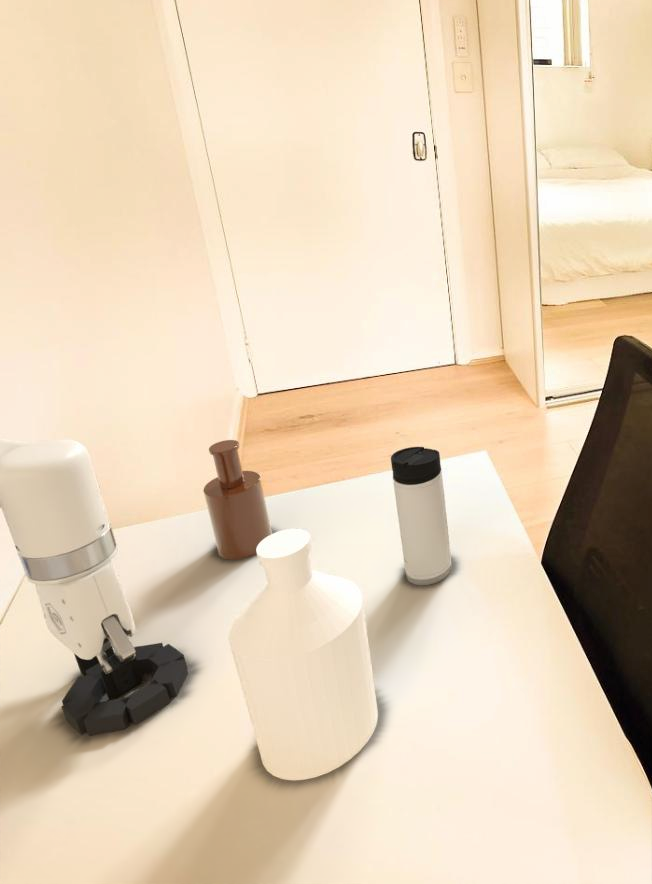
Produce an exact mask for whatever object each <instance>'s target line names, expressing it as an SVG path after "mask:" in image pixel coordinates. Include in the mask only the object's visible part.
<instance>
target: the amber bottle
mask: <svg viewBox="0 0 652 884" xmlns="http://www.w3.org/2000/svg"><path fill="white" fill-rule="evenodd" d="M239 449H240V442H239V441H238V440H235V439H226V440H221V441H218V442H215V443H213V444H211V445H210V446H209V447H208V452H209V454H210V455H211V456H212V458H213V462H214V466H215V471H216V475H217V477H214V478H213V479H211V480H210V481H209V482H208V483H206V484H205V485H204V486H203V496H204V499H205V504H206V508H207V512H208V516H209V520H210V524H211V529H212V533H213V537H214V540H215V544H216V545H215V546H216V548H217V553H218V556H219V557H221V558H222V559H225V560H232V561H233V560H243V559H247V558H250V557H253V556H255V555H257V552H256V548H257V546H258V544H259V543H260V542H261V541H262V540H263V539H265V538H266V537H268V536H269V535H271V534H273V531H272V526H271V521H270V515H269V511H268V506H267V502H266V498H265V493H264V487H263V484H262V478H261V475H260V474H259V473H258V472H256V471H253V470H243V468H242V467H243V466H242V463H241V458H240V453H239Z"/></svg>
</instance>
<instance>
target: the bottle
mask: <svg viewBox="0 0 652 884" xmlns="http://www.w3.org/2000/svg"><path fill="white" fill-rule="evenodd" d="M312 551H313V545H312V539H311V534H310V532H308V531H307V530H305V529H302V528H288V529H283V530H279V531H276V532H274V533H272V534H271V535H269V536H268V537H266V538H265V539H263V540H262V541H261V542H260V543H259V544H258V546H257V548H256V552H257V554H256V556H257V560H258V564H259V565H260V566H261V567H262V568H263V570H264V573H265V577H266V581H267V584H266V585H265V586H264V587H263V589H261V591H260V592H259V593H258V595H256V596H255V598H254V599H253V600H251V601H250V602H249V604H247V605H246V606H245V607H244V608H243V609H242V610H241V611H240V612H239V613H238V615H237V616H236V617H235V618H234V620H233V622H232V624H231V626H230V628H229V631H228V632H229V633H228V642H229V647H230V651H231V654H232V658H233V661H234V665H235V668H236V672H237V676H238V679H239V683H240V686H241V690H242V694H243V697H244V701H245V705H246V708H247V713H248V715H249V719H250V722H251V726H252V729H253V733H254V738H255V741H256V744H257V748H258V752H259V755H260V759H261V762H262V765H263V767H264V768H265V770H266V771H267V772H268V773H269V774H270V775H272V776H273V777H276V778H278V779H281V780H286V781H303V780H309V779H314V778H317V777H320V776H322V775H326V774H328V773H330V772H332V771H334V770H336V769H339V768H340V767H342V766H343V765H344V764H346V763H347V762H349V761H350V760H351V759H353V758H354V757H355V756H356V755H357V754H359V752H361V751H362V749H363V748H364V747H365V746H366V744H367V743H368V742H369V740H370V739H371V737H372V736H373V734H374V732H375V729H376V727H377V725H378V718H379V712H378V710H379V709H378V703H377V697H376V696H377V695H376V689H375V682H374V681H375V680H374V673H373V666H372V659H371V654H370V653H371V652H370V643H369V638H368V630H367V622H366V615H365V606H364V601H363V594H362V592H361V589H360V588H359V586H357V584H356V583H354V582H353V581H351V580H349V579H347V578H344V577H340V576H336V575H330V574H326V573H323V572H321V571H318V570H314V569H313V567H312V566H313V565H312V559H311V552H312Z"/></svg>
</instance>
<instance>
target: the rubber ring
mask: <svg viewBox="0 0 652 884" xmlns="http://www.w3.org/2000/svg"><path fill="white" fill-rule="evenodd" d="M133 647H134V648H135V651H136V653H135V655H136V659H137V662H138V666H139V669H140V672H141V675H142V676H143V675H148V674H153V676H152V678H151V680H150V681H149V682H148V683H147V684H145V685H144V686H142V687H140V688H139V689H137V690H135V691H133V692H132V693H130V694H129V695H127V696H126V697H122V698H121V697H120V698H115V699H113V700H111V699H110V700H104V701H101V700H102V698H103V696H104V694H105V693H106V690H105V687H104V684H103V681H102V678H101V675H100V672H101V671H102V670H103V669H102V667H101V664H100V663H98V664H97V665H95V666H93V667H91V668H89V669H88V670H86V674H87V675H86V676H83V675H81V676H78V677H77V678H76V679H75V681H74V682H73V684H72V685H71V687H70V688H69V689H68V691H67V693H66V694H65V695H64V697H63V699H61V702H62V705H61V710H62V712H63V714H64V717H65V720H66V722H67V723H68V725H70V726H71V727H72V728H73V729H74V730H75V731H76V732H77V733H78V734H79V735H81V736H83V735H85V734H86V733H87V734H88V736H89V737H92V736H98V735H102V734H103V735H104V734H108V733H114V732H120V731H125V730H127V729H128V728H129V725H130V724H131V722H132V724H134V725H135V726H137V725H139V724H140V723H142V722H144V721H145V720H147V719H148V718H150V717H151V716H153V715H154V714H156V713H157V712H159V711H160V710H162V709H164V708H165V707H166V706H168V705H170V704H171V698H176V697H178V695H179V693H180V691H181V690H182V687H183V685H184V683H185V681H186V679H187V677H188V676H189V671H188V666H187V662H186V658H185V655H184V654H183V653H182V652H181V651H180V650H178V649H177V648H175V647H174V646H173V645H171V644H170V643H167V644H165V645H163V642H157V643H151V644H146V645H138V646H133ZM114 655H115V653H114ZM112 656H113V655H112ZM112 656H111V657H112ZM111 657H109V658H108V660H109V659H110V658H111Z"/></svg>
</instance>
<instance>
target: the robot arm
mask: <svg viewBox="0 0 652 884" xmlns="http://www.w3.org/2000/svg"><path fill="white" fill-rule="evenodd" d="M0 509H1V511H2V513H3V517H4V519H5V522H6V525H7V527H8V530H9V532H10V535H11V538H12V541H13V545H14V547H15V549H16V552H17V555H18V558H19V560H20V563H21V565H22V568H23V571H24V574H25V577H26V580H27V581H28V582H30V583H31V584H34V586H35V588H36V589H35V590H36V592H37V596H38V600H39V604H40V607H41V610H42V614H43V618H44V621H45V623H46V627H47V629H48V631H49V632H50V634H51V635H52V636H53V637H55V638H56V640H57V641H59V642H60V643H61V644H63V645H64V646H65V647H66V648H67V649H68V650H69V651H70V652H72V654H73V655H74V658H75V660H76V663H77V666H78V669H79V672H80V674H81V676H86V675H87V674H86V670H88V669H89V668H91V667H93V666H95V665H97V664H98V663H100V664H101V667H102V669H103V670H102V671H101V672H100V675H101V678H102V681H103V684H104V687H105V690H106V691H105V693H106V696H107V697H108V698H107V699H110V700H115V699H118V697H120V696H122V695H123V694H125V693H126V692H128V691H130V690H131V689H133V688H135V687H137V686H138V685H140V684H141V683H142V682H143V681H144V680H143V674H142V675H141V672H140V669H139V666H138V662H137V659H136V655H135V653H136V651H135V648H134V647H135V646H134V645H133V644H132V642H131V640H130V638H132V637H133V636H134V634H135V632H136V625H135V621H134V617H133V613H132V609H131V607H130V604H129V601H128V599H127V596H126V594H125V590H124V588H123V585H122V583H121V580H120V576H119V574H118V572H117V570H116V568H115V566H114V564H113V561H112V560H113V559H114V558H115V556H116V555H117V553H118V550H119V548H118V544H117V540H116V537H115V534H114V530H113V527H112V524H111V521H110V518H109V514H108V511H107V508H106V504H105V500H104V497H103V494H102V491H101V488H100V485H99V481H98V478H97V474H96V471H95V467H94V465H93V462H92V457H91V455H90V454H89V450H88V449H87V447H86V446H85V445H84V444H82V443H81V442H79V441H76V440H73V439H67V438H56V439H46V440H41V441H36V442H32V441H23V440H16V439H9V438H4V437H3V438H2V437H0ZM114 654H115V655H114ZM112 655H113V656H112ZM111 656H112V657H111ZM109 657H111V658H110V659H109V660H108V658H109Z"/></svg>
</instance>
